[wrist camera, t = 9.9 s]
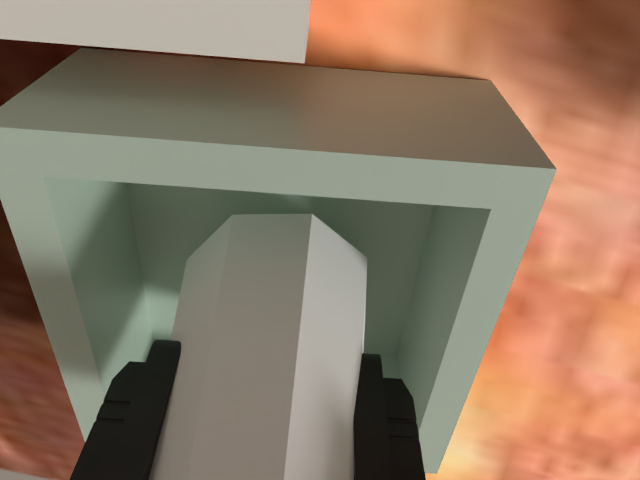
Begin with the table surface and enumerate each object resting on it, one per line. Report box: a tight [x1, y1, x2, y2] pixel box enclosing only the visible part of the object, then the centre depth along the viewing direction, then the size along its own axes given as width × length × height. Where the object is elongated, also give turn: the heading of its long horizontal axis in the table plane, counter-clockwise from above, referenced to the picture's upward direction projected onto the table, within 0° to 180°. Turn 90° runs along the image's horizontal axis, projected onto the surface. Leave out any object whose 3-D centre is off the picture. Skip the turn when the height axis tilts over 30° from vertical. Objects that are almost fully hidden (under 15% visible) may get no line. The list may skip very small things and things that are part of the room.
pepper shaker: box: [148, 214, 368, 480], centre depth 10 cm, size 5×5×11 cm
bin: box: [0, 48, 557, 474], centre depth 15 cm, size 11×11×5 cm
